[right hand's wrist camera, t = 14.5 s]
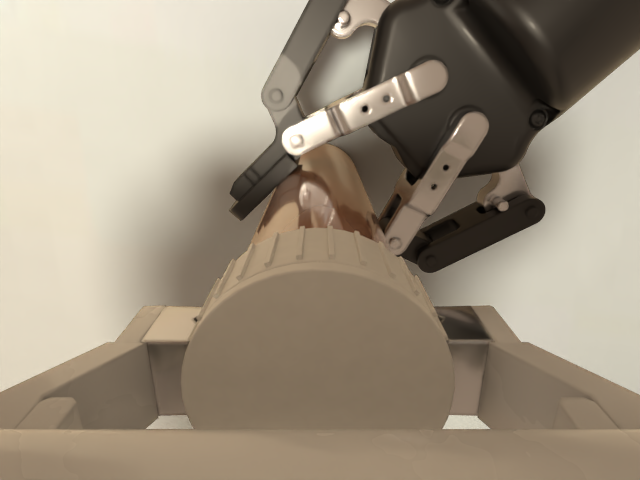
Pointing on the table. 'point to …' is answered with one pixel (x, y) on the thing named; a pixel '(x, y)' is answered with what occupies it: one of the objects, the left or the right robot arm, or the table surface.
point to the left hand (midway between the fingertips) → (279, 249)
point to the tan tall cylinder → (321, 198)
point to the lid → (318, 340)
